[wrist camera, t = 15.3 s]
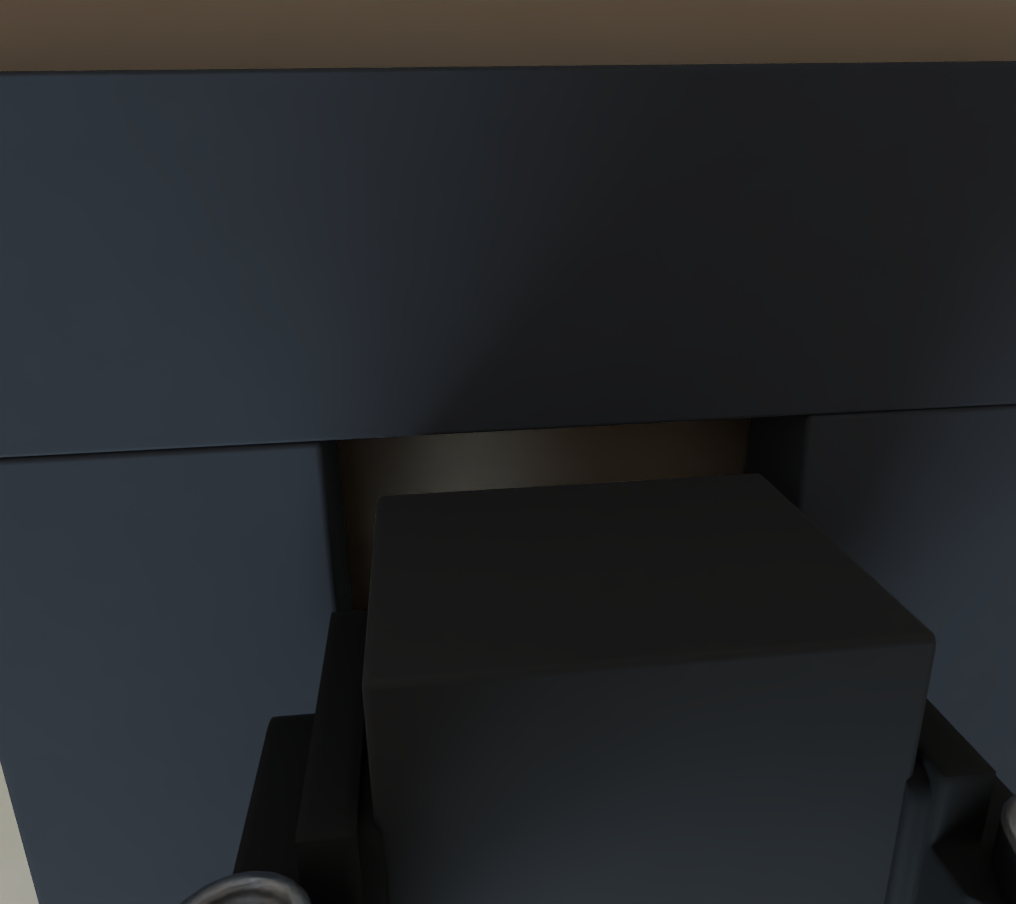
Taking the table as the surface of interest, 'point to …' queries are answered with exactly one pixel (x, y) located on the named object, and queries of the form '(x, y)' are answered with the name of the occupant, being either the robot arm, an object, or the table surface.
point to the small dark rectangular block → (634, 698)
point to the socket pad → (457, 372)
